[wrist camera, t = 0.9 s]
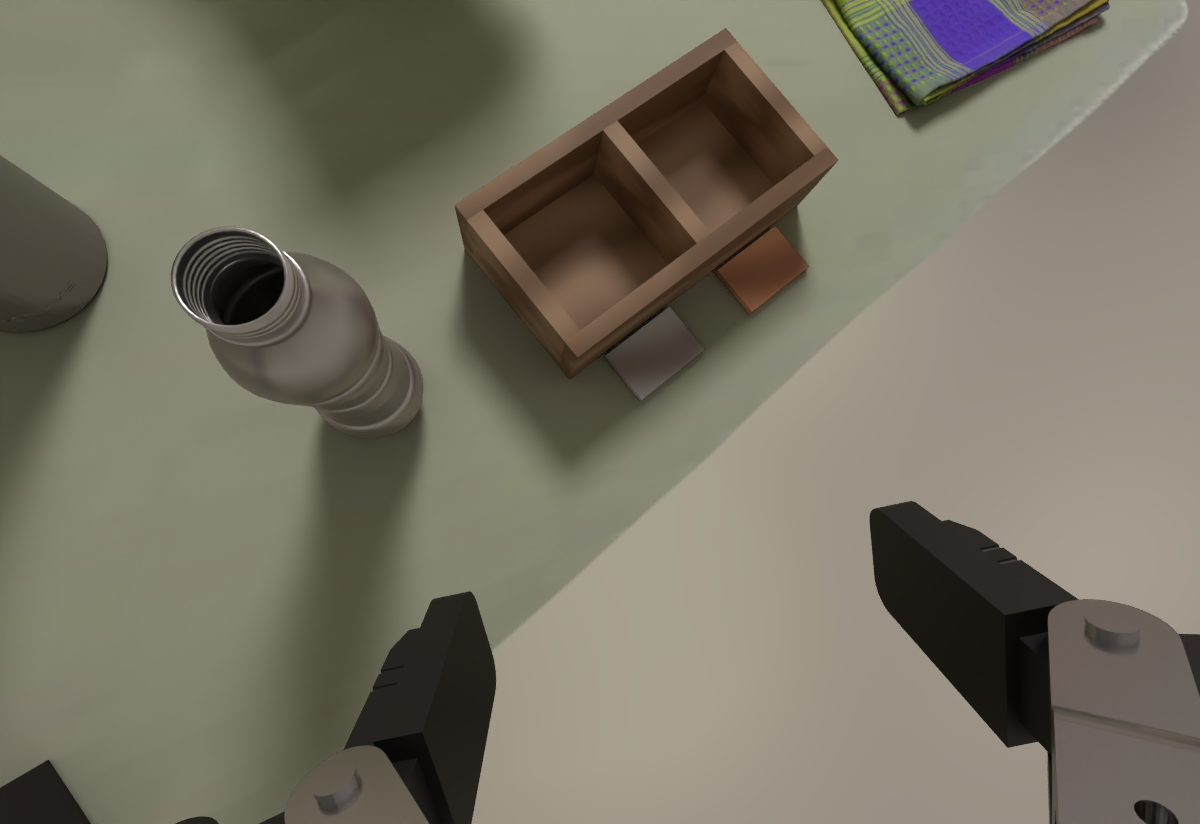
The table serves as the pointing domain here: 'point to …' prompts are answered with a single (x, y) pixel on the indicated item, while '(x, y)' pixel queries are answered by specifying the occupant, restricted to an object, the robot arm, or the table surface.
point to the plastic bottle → (296, 331)
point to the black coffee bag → (39, 799)
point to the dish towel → (952, 40)
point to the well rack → (649, 213)
